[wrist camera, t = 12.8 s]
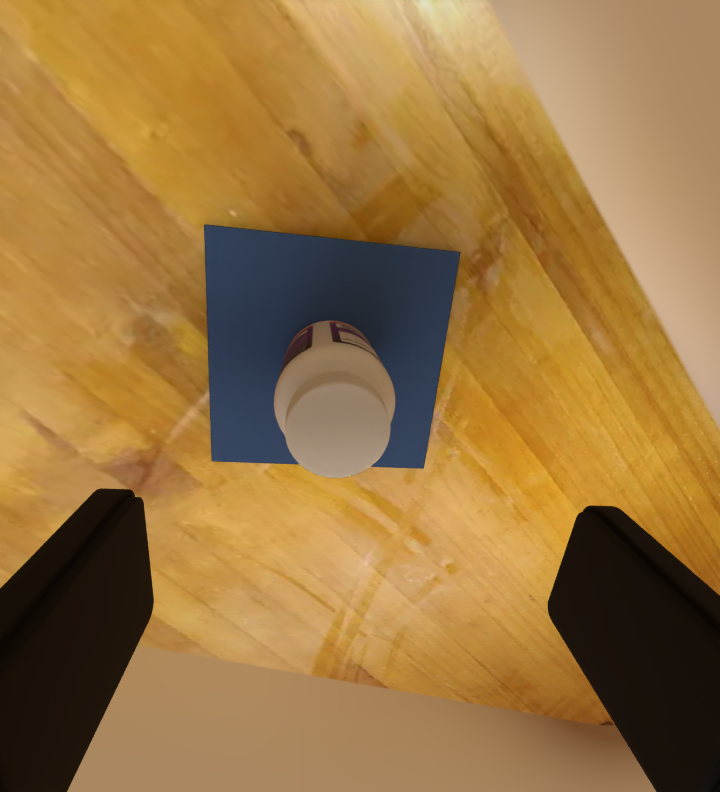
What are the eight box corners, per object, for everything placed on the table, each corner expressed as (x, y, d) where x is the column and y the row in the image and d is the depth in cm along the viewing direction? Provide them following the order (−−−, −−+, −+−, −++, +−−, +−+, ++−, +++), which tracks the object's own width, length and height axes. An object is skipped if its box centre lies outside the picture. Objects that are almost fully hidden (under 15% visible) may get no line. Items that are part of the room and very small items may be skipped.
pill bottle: (299, 414, 25) (288, 509, 15) (273, 331, 23) (243, 383, 14) (383, 393, 25) (420, 475, 16) (364, 309, 23) (395, 346, 14)
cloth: (205, 224, 21) (203, 224, 20) (458, 252, 23) (460, 252, 22) (213, 458, 25) (211, 461, 25) (422, 465, 27) (423, 468, 27)
